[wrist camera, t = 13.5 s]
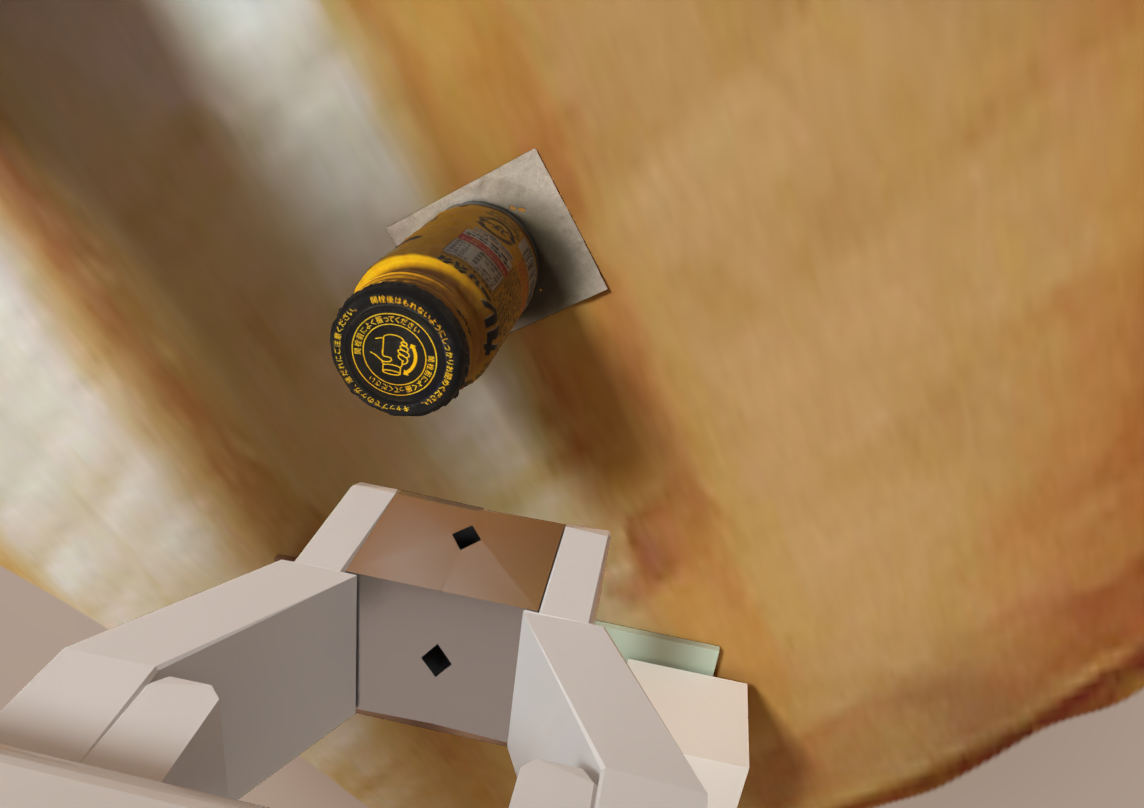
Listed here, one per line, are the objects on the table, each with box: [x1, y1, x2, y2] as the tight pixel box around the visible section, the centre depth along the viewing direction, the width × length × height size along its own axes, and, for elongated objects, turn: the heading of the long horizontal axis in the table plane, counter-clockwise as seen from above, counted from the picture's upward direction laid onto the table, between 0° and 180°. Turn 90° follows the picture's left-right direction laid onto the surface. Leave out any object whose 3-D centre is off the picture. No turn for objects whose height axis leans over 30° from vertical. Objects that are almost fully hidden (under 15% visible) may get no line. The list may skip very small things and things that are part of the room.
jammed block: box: [627, 659, 749, 808], centre depth 48 cm, size 7×5×6 cm
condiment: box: [330, 148, 607, 416], centre depth 36 cm, size 7×8×12 cm
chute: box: [275, 554, 720, 747], centre depth 51 cm, size 27×8×3 cm, turn 83°
